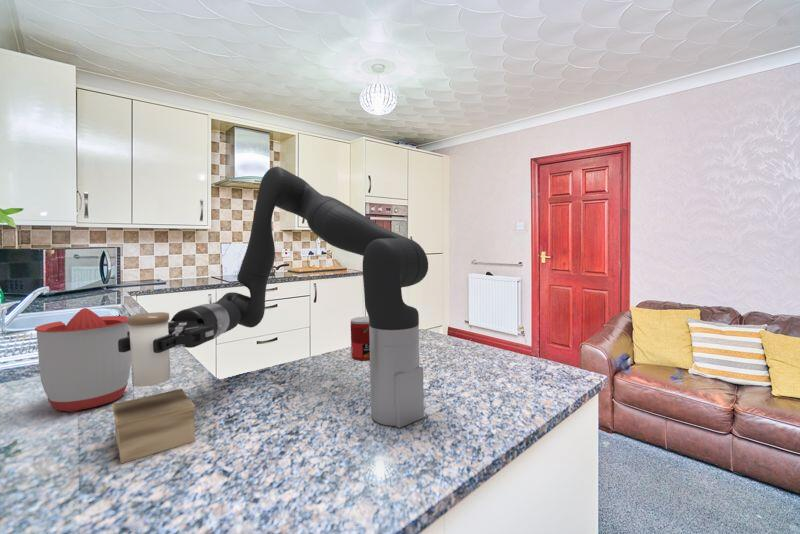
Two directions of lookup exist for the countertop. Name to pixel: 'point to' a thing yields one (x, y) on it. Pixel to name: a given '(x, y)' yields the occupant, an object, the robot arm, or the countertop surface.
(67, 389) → the citrus juicer
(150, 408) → the oak box
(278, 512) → the countertop surface
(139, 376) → the cream jar
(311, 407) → the countertop surface
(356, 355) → the canned food
